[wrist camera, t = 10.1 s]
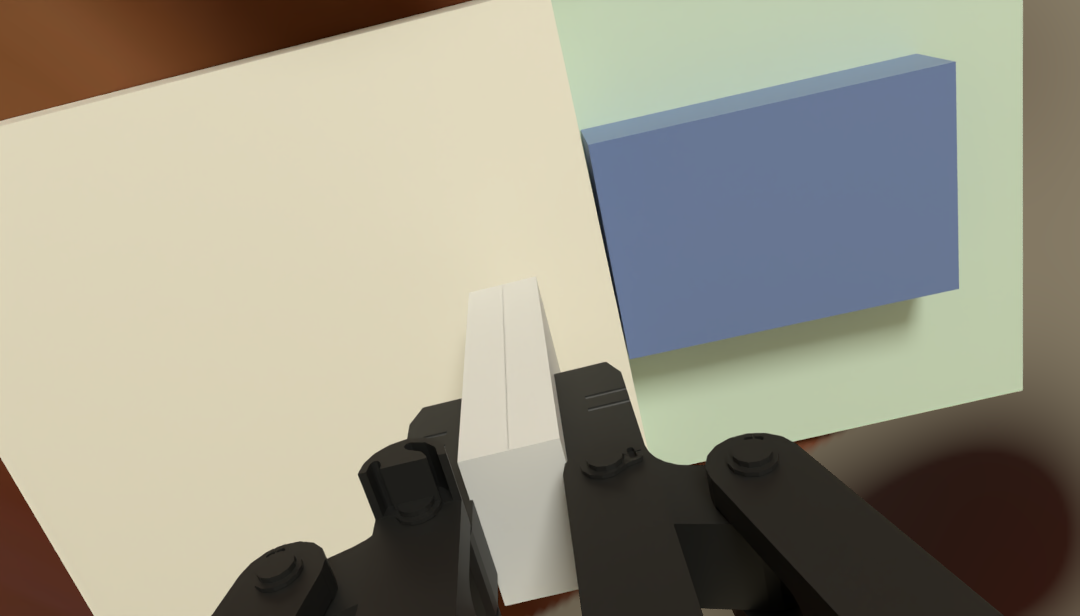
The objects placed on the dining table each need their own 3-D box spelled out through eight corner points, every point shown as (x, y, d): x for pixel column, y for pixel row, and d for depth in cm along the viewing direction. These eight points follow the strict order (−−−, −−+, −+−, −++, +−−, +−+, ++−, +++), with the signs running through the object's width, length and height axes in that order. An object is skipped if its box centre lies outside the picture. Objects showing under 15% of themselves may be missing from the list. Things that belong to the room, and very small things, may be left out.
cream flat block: (164, 549, 27) (110, 643, 23) (-54, 134, 21) (-170, 169, 18) (640, 443, 26) (663, 521, 22) (539, -17, 20) (548, -14, 17)
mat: (646, 468, 26) (647, 473, 26) (530, -60, 20) (530, -60, 20) (1017, 386, 26) (1022, 390, 25) (1015, -185, 19) (1022, -187, 19)
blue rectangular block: (620, 329, 24) (629, 359, 22) (580, 129, 22) (587, 145, 20) (923, 263, 24) (959, 288, 22) (916, 53, 21) (955, 61, 19)
